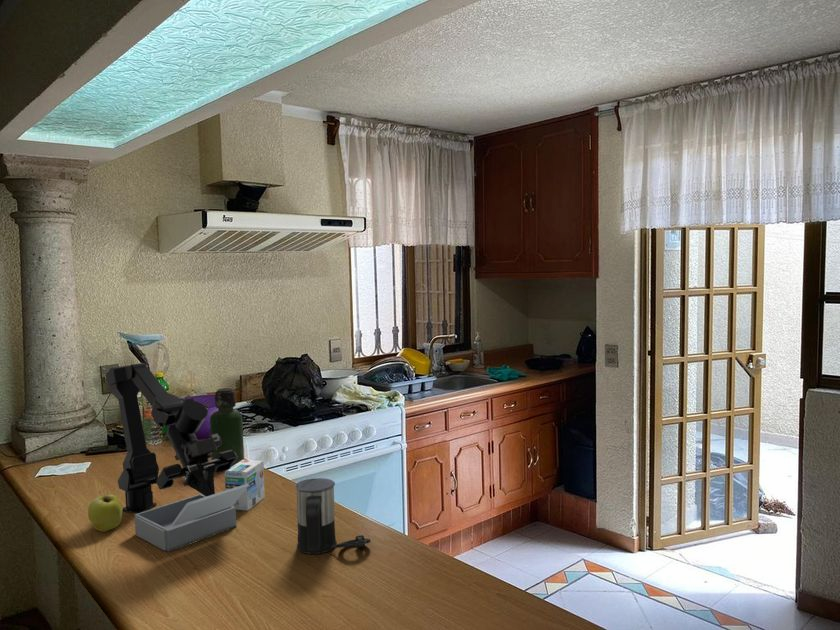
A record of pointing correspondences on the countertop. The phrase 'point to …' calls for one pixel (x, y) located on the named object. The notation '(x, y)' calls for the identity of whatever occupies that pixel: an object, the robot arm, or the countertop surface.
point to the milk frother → (318, 517)
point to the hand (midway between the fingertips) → (213, 498)
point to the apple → (105, 512)
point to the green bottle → (227, 424)
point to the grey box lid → (209, 504)
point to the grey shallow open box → (180, 525)
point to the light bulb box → (246, 482)
